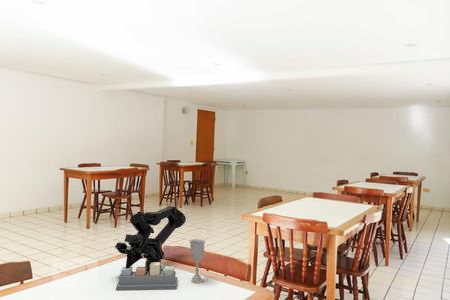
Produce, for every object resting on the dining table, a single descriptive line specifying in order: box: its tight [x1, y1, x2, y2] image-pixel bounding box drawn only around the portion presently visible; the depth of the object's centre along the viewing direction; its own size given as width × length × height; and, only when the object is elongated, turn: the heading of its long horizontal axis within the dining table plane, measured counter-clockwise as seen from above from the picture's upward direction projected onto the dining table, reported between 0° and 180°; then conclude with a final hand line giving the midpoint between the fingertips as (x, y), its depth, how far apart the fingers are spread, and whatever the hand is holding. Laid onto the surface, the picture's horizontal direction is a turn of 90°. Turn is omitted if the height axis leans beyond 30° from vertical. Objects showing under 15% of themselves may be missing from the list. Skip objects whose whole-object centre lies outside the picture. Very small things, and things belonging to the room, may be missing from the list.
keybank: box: [115, 270, 178, 291], centre depth 160 cm, size 25×10×5 cm, turn 95°
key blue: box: [120, 266, 133, 276], centre depth 159 cm, size 4×4×6 cm
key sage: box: [163, 265, 175, 276], centre depth 160 cm, size 4×4×6 cm
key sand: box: [150, 262, 160, 276], centre depth 160 cm, size 4×4×6 cm
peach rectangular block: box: [135, 266, 147, 276], centre depth 159 cm, size 4×4×6 cm
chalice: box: [188, 238, 206, 284], centre depth 165 cm, size 7×7×18 cm
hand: (126, 267), depth 159 cm, fingers closed, pressing on key blue
